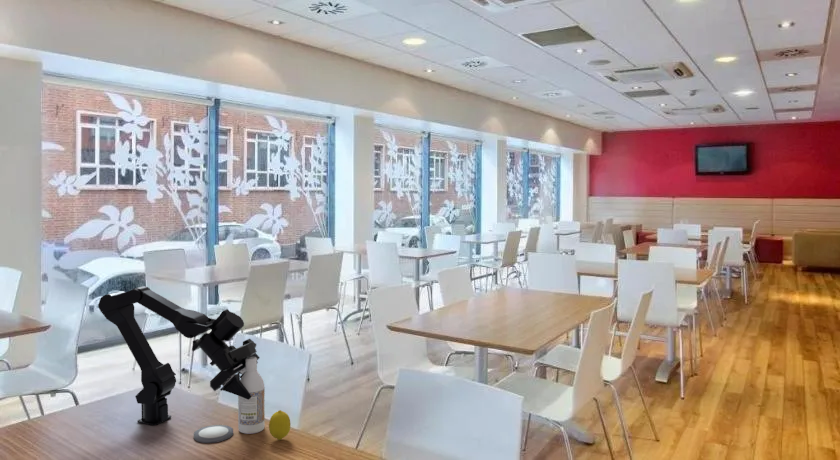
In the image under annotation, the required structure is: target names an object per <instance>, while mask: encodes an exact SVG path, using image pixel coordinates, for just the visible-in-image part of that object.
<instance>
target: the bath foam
mask: <svg viewBox="0 0 840 460" xmlns="http://www.w3.org/2000/svg"><path fill="white" fill-rule="evenodd" d="M257 362H258V360H257V358H256V357H247V358H246V372H245V373H244V375H243V376H242V378H240V381H241V382H242V384H243V385H244V387H245V388H246V389H247V391H248V392H249V394H250V395H251V398H250V399H249V400H248V399H245V398H243V397H240V396H238V395H237V397H238V398H237V402H238V403H237V404H238V405H237V410H238V411H237V413H238V414H237V415H238V416H237V418H238V419H237V422H238V424H237V425H238V427H237V429H238V432H239V433H242V434H245V435H248V434H249V435H250V434H251V435H253V434H257V433H260V432H262V431H263V430H264V429H265V422H266V421H265V416H266V413H265V412H266V411H265V407H266V406H265V405H266V404H265V401H266V400H265V396H266V395H265V392H266V391H265V388H266V387H265V382H264V379H263V378H262V377H263V376H262V375H260V373H259V371H258V370H257V369H258V363H257Z"/></svg>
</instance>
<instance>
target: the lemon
mask: <svg viewBox="0 0 840 460" xmlns="http://www.w3.org/2000/svg"><path fill="white" fill-rule="evenodd" d="M268 429H269V434H270V435H271V436H272V437H273V438H275V439H277V440H278V441H281V440H283V438H285V437H287V436H288V434H289V433H290V430H291V419H290V416H289V415H288V413H286V412H285V411H282V410H281V409H279V410H278V411H276V412H274V413H273V414H272V415H270V419H269V423H268Z"/></svg>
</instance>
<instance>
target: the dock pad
mask: <svg viewBox="0 0 840 460" xmlns="http://www.w3.org/2000/svg"><path fill="white" fill-rule="evenodd" d="M233 435H234V428H233V427H231V426H229V425H226V424H212V425H207V426H203V427H200V428H198V429H197V430H195V431H194V432H193V439H194V441H196V442H198V443H203V444H212V443H213V444H214V443H215V444H216V443H219V442H222V441H226V440H228V439H230V438H232V437H233Z"/></svg>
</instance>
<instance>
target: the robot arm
mask: <svg viewBox="0 0 840 460" xmlns="http://www.w3.org/2000/svg"><path fill="white" fill-rule="evenodd" d="M134 304H139V305H141V306H142V307H144V308H146V309H148V310H150V311H151V312H153V313H155V314H156V315H158V316H159V317H162V318H164V319H165V320H167V321H169V322H170V323H171V324H173V326H174V328H175V330H176V331H178V332H179V333H180V334H181V335H182V336H183V337H184V338H187V339H194V338H196V337H199V336H200V335H202V336H201V337H199V338H197V339H195V340H192V347H191V348H192V349H191V351H192V352H195V351H197V350H199V349H200V350H202V352H203V353H204V354H205V355H206V356H207V357H208V358H209V359H210V363H209V364H210V365H211V366H216V367H217V369H218V370H219V372H218V373H217V374H216V375H215V376H214V377H213V378H212V379H211V380H209V387H210V388H211V389H212V391H213V392H216V391H218V390H220V391H221V392H222V391H224V392H226V393H227V392H228V393H230V394H234V395H235V396H237V397H238V396H240V397H243V398H245V399H248V400H249V399H250V398H251V395H250V394H249V392H248V391H247V389H246V388H245V387H244V385H243V384H242V382H241V381H240V380H241V378H242V376H243V375H244V373H245V372H246V358H247V357H256V358H257V364H258V363H259V362H258V361H259V360H260V356H259V355H258V354H257V349H256V348H257V343H256V342H254V341H253V339H251V338H247V339H246V340H244V341H242V345H240V346H238V347H237V348H236V346H234V345H232V344H231V345H228V343H226V341H227V342H228V341H231V340H232V338H233V337H235V335H236V334H237V333H239V332H240V330H242V329H243V327H244V326H245V323H244V320H243V318H242V317H241V316H240V315H238V314H237V313H235V312H232V311H230V310H229V309H228V308H227V309H224V310H223V311H222V312H221V313H220V314H219V315H218V317H217V318H212V317H208V315H206V314H204V313H202V312H199V311H196V310H193V309H187V308H183V307H181V306H179V305H178V304H176V303H175V302H173V301H170V300H169V299H167V298H165V297H164V296H163V295H160V294H159V293H156V292H155V291H153V290H152V289H150V287H148V286H145V285H143V286H142V285H141V286H138V287H135V288H132V289H131V290H128V291H124V290H119V291H115V292H111V293H107V294H104V295H102V296H101V297H100V299H99V301H98V304H97V305H98V310H99V311H100V313H101V314H102V315H103V316H104V317H105V319H106V320H108V321H109V322H110V323H112V324H114V325H115V326H116V328H117V329H118V330H119V333H120V334H121V336H122V337H123V340H124V342H125V343H126V345H127V347H128V348H129V351H130V352H131V354H132V356H133V357H134V359H135V361H136V363H137V365H138V367H139V369H140V371H141V372H140V373H141V375H140V376H141V377H140V380H141V381H140V382H141V385H142V387H143V388H142V389H141V390H140V391H139V392H138V393H137V394H136V395H135V400H136V403H137V404H141V418H140V419H137V420H136V421H137V423H140V424H144V425H150V426H157V425H159V424H162V423H164V422H166V421H167V420H170V419H171V418H172V415H169V405H168V399H167V397H168V396H170V395H171V393H172V390H173V389H174V388H175V387H176V383H177V378H176V376H177V374H176V373H175V371H173V368H172V366H171V364H170V363H169V362H167V363H165V364H164V363H162V362H161V361H160V360H158V357H157V356H156V354H155V352H154V351H153V349H152V347H151V345H150V343H149V342H148V339H147V338H146V336H145V334H144V332H143V331H142V328H141V327H140V325H139V323H138V321H137V319H136V317H135V305H134ZM210 330H211V331H210ZM208 331H210V332H208Z"/></svg>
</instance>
